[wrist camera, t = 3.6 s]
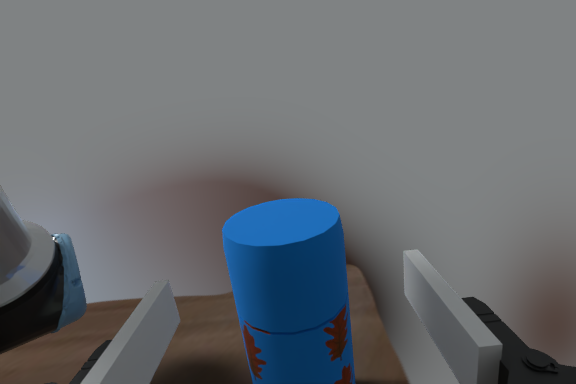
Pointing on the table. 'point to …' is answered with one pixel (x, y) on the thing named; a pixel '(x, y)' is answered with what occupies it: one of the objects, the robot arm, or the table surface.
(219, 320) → the table surface
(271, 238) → the thermos
